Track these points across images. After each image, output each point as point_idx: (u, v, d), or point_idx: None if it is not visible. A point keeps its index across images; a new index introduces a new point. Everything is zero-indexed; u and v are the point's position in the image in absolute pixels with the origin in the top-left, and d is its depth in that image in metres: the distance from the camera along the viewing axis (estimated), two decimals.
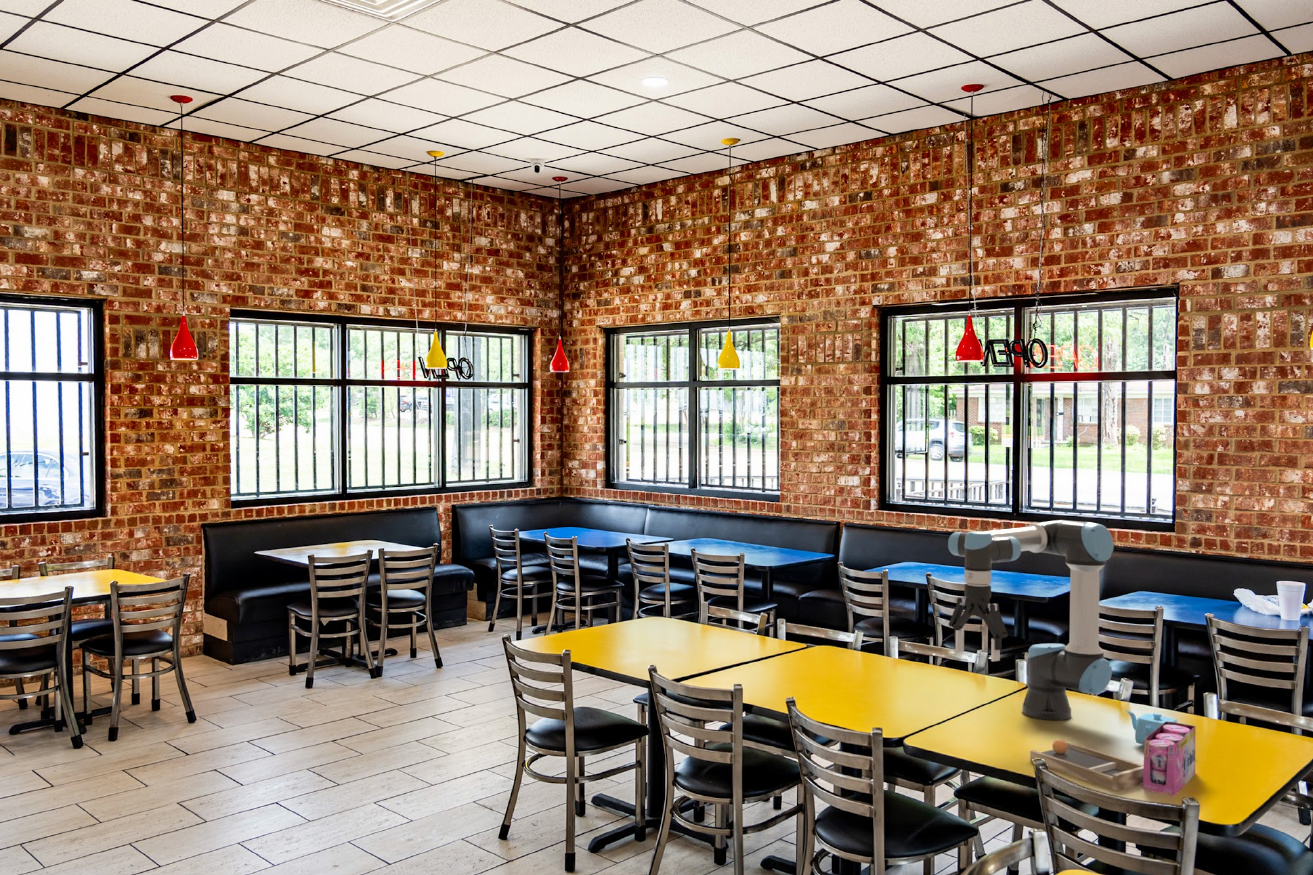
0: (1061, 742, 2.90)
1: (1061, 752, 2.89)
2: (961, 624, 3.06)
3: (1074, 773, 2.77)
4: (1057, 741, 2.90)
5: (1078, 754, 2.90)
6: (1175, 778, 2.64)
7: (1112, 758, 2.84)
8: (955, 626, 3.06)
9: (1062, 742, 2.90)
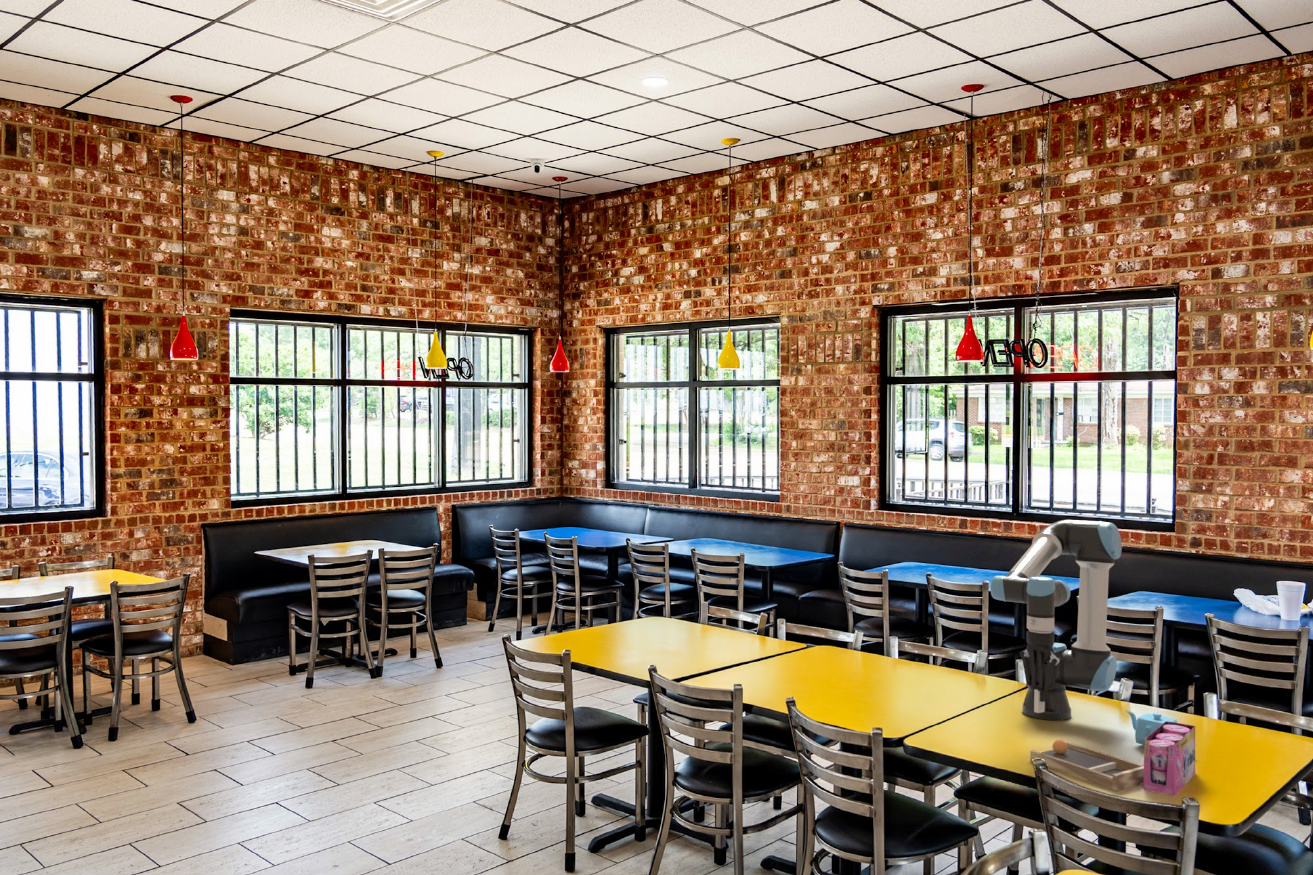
0: (1061, 742, 2.90)
1: (1061, 752, 2.89)
2: (1037, 679, 2.97)
3: (1074, 773, 2.77)
4: (1057, 741, 2.90)
5: (1078, 754, 2.90)
6: (1175, 778, 2.64)
7: (1112, 758, 2.84)
8: (1033, 684, 2.97)
9: (1062, 742, 2.90)
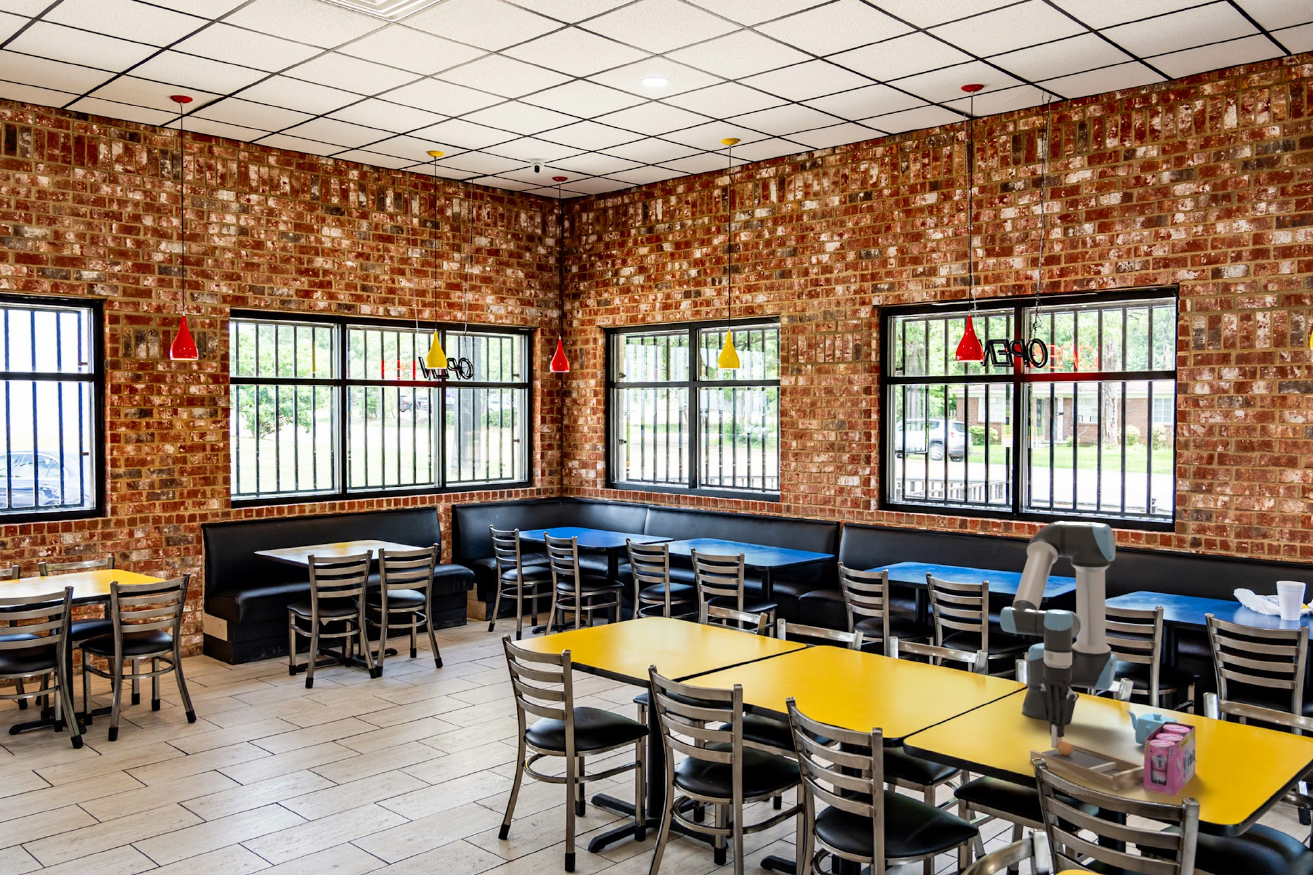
0: (1069, 749, 2.87)
1: (1063, 755, 2.89)
2: (1054, 714, 2.92)
3: (1074, 773, 2.77)
4: (1066, 746, 2.88)
5: (1078, 754, 2.90)
6: (1176, 778, 2.64)
7: (1112, 758, 2.84)
8: (1050, 719, 2.92)
9: (1070, 749, 2.87)
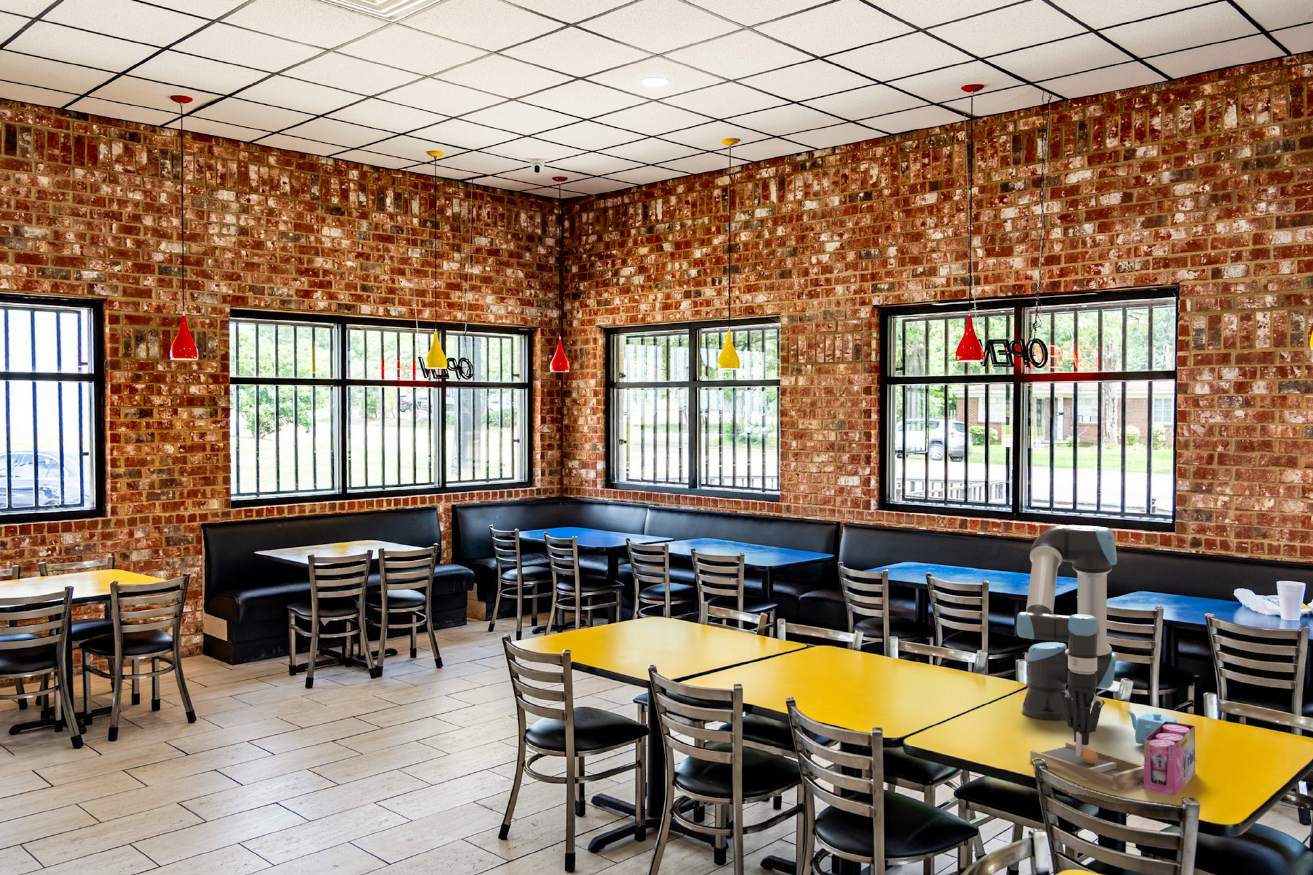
0: None
1: (1090, 752, 2.81)
2: (1079, 721, 2.85)
3: (1074, 773, 2.77)
4: None
5: None
6: (1176, 778, 2.64)
7: (1112, 758, 2.84)
8: (1074, 727, 2.85)
9: None
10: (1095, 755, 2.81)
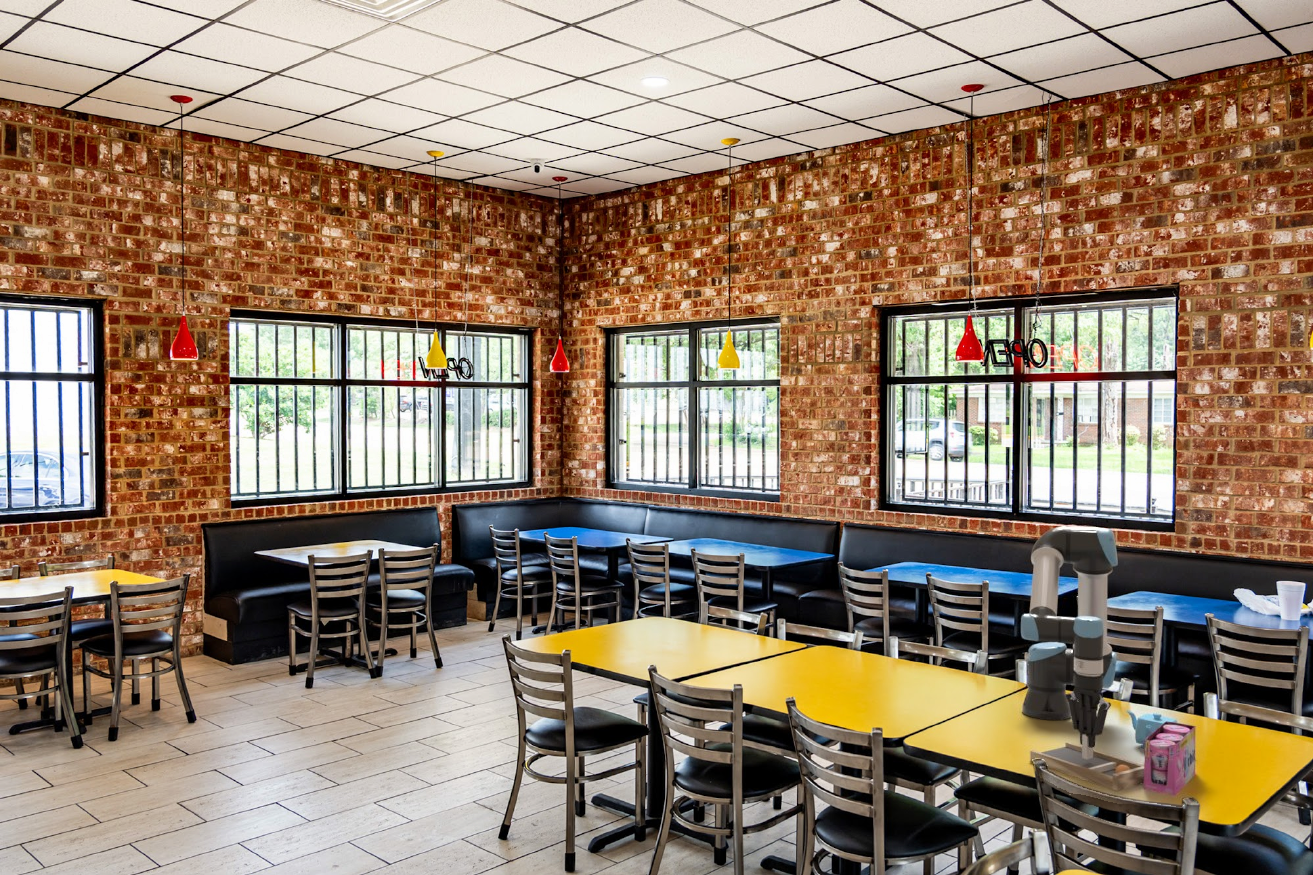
0: None
1: (1118, 766, 2.74)
2: (1085, 724, 2.84)
3: (1074, 773, 2.77)
4: None
5: (1078, 754, 2.90)
6: (1176, 778, 2.64)
7: (1112, 758, 2.84)
8: (1080, 729, 2.84)
9: None
10: (1124, 765, 2.74)
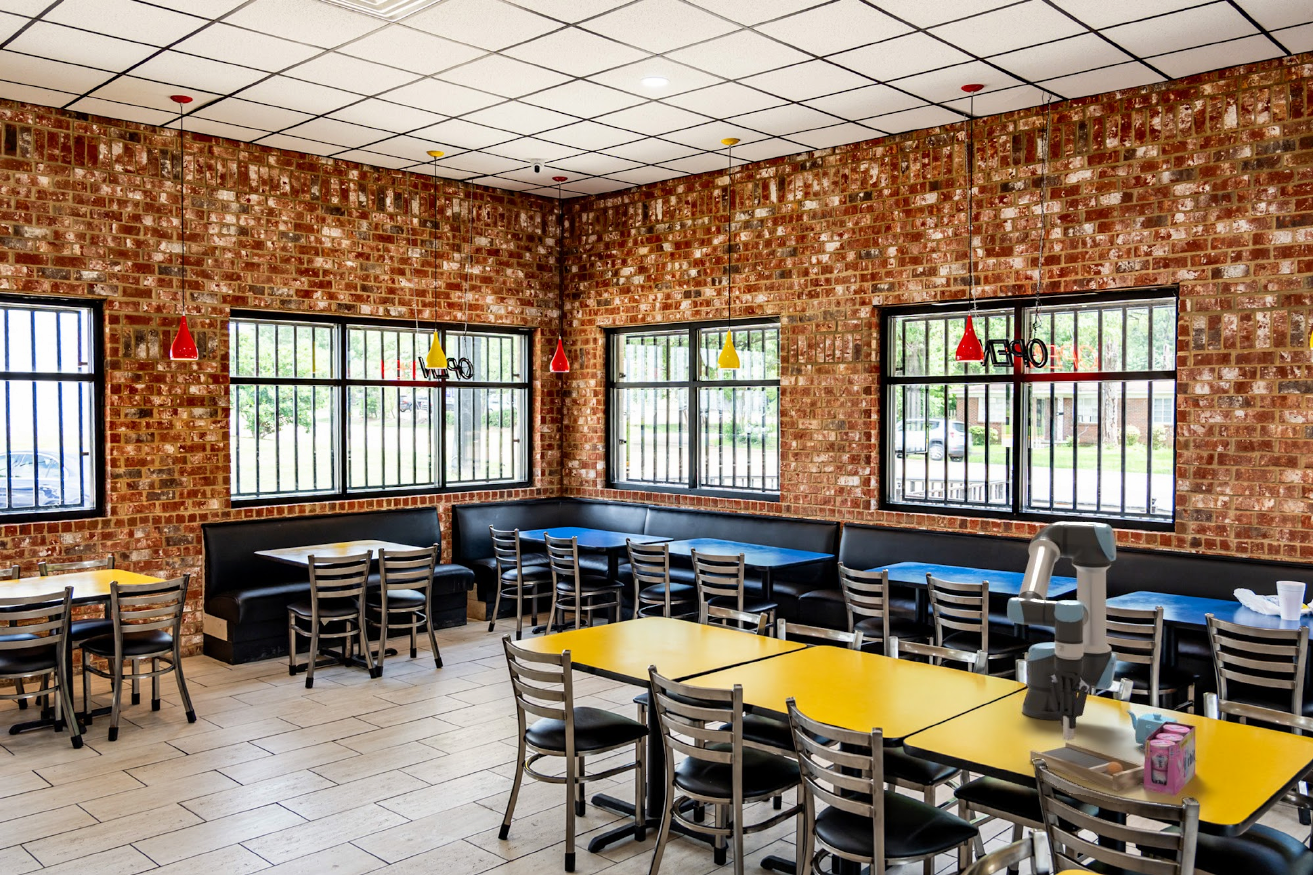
0: None
1: None
2: (1066, 706, 2.89)
3: (1074, 773, 2.77)
4: None
5: (1078, 754, 2.90)
6: (1176, 778, 2.64)
7: (1112, 758, 2.84)
8: (1061, 711, 2.89)
9: None
10: None
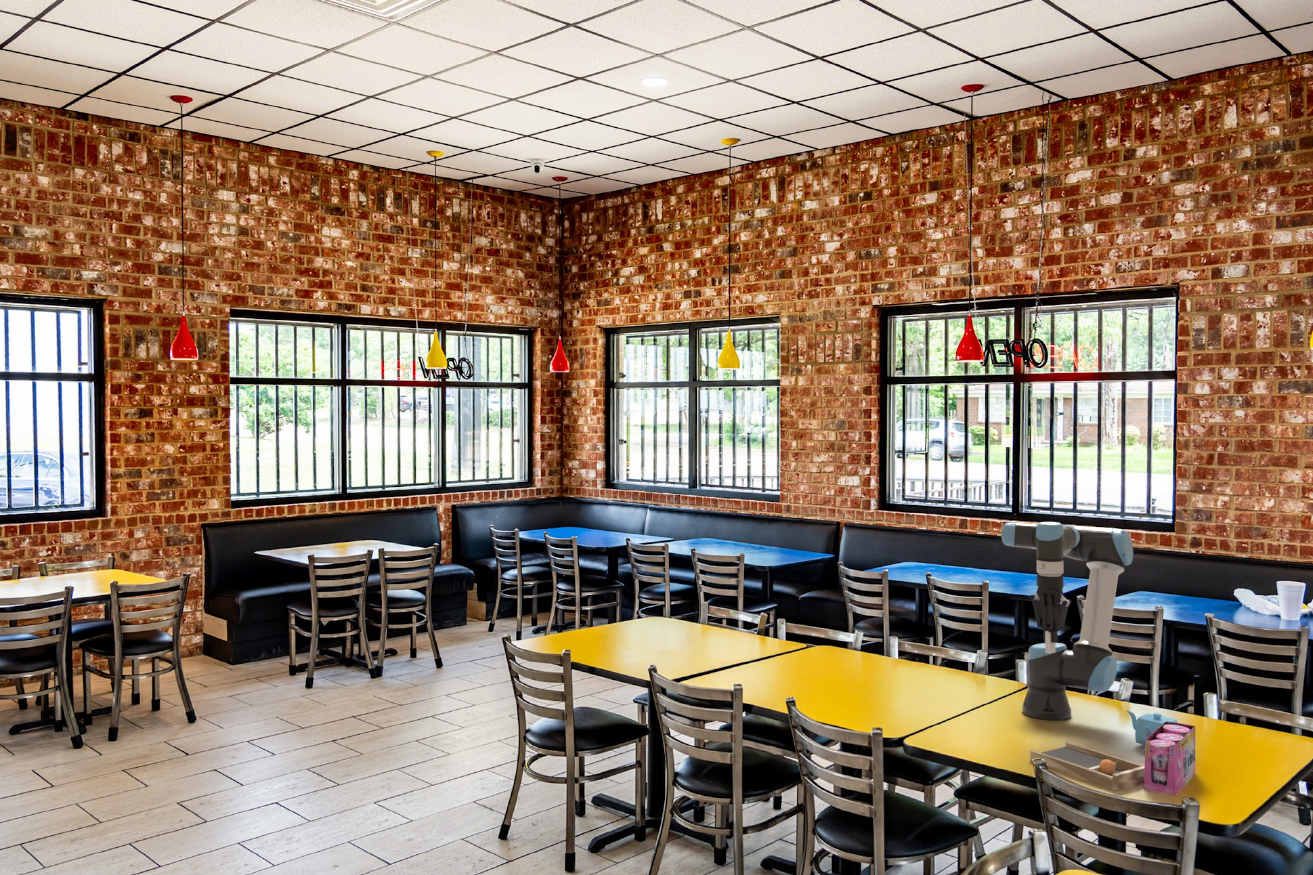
0: (1112, 769, 2.76)
1: (1104, 773, 2.78)
2: (1047, 621, 3.05)
3: (1074, 773, 2.77)
4: (1109, 765, 2.76)
5: (1078, 754, 2.90)
6: (1176, 778, 2.64)
7: (1112, 758, 2.84)
8: (1043, 626, 3.05)
9: (1113, 769, 2.76)
10: None
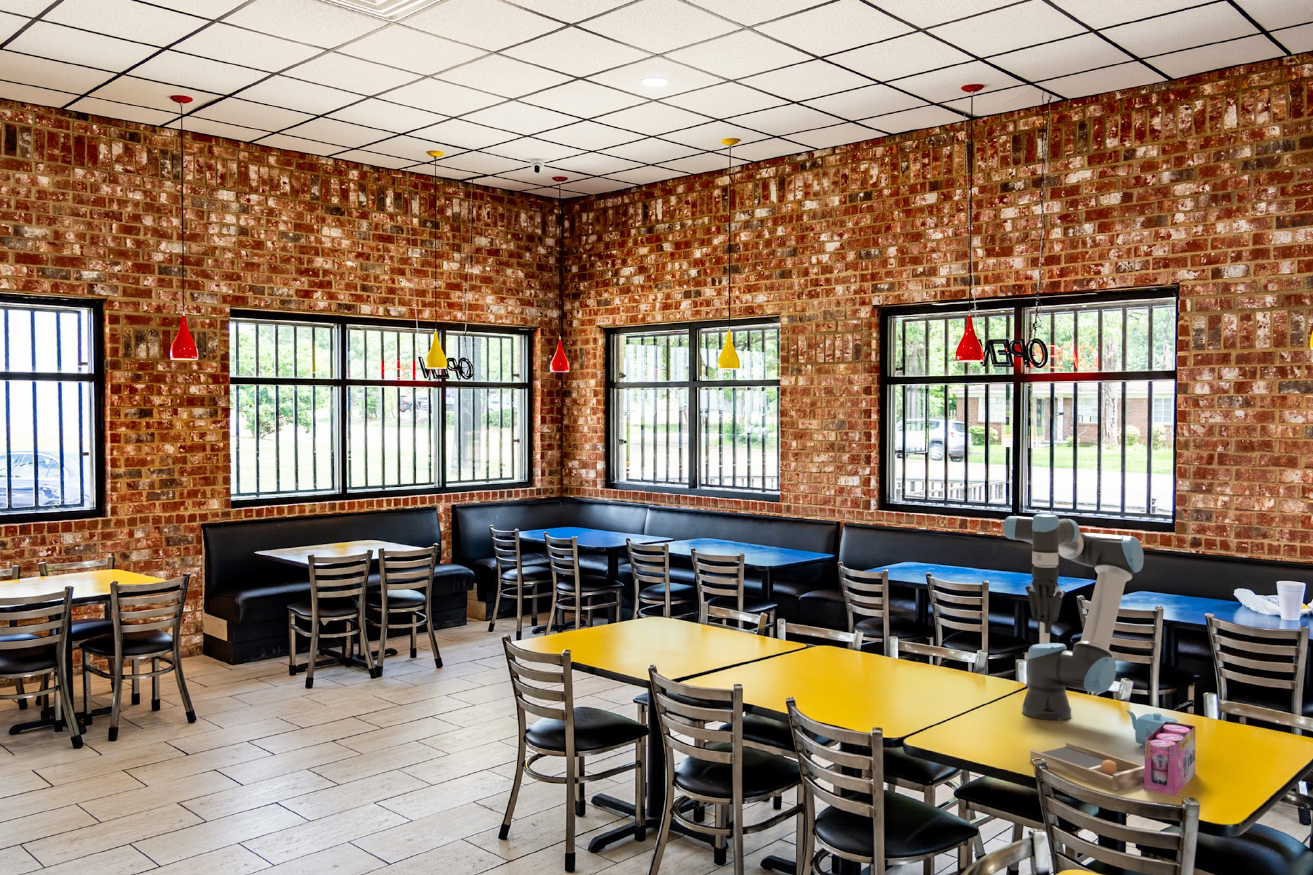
0: (1113, 771, 2.76)
1: None
2: (1042, 612, 3.10)
3: (1074, 773, 2.77)
4: (1111, 767, 2.76)
5: (1078, 754, 2.90)
6: (1176, 778, 2.64)
7: (1112, 758, 2.84)
8: (1038, 617, 3.10)
9: (1114, 771, 2.76)
10: None
